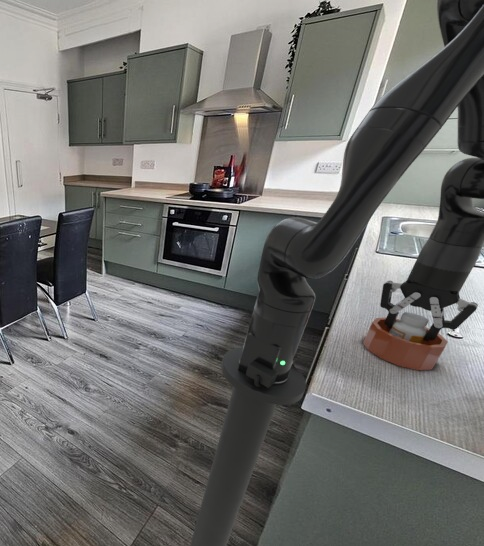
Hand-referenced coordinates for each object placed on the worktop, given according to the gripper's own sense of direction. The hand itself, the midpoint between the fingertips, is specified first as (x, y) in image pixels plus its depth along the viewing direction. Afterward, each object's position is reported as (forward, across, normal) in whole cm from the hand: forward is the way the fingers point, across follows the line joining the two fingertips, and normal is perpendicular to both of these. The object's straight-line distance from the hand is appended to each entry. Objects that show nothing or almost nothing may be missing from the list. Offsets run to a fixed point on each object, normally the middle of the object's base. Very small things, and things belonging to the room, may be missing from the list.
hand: (407, 333), depth 69 cm
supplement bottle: (+6, 0, 0) cm, 6 cm away
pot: (+5, 0, 0) cm, 5 cm away
